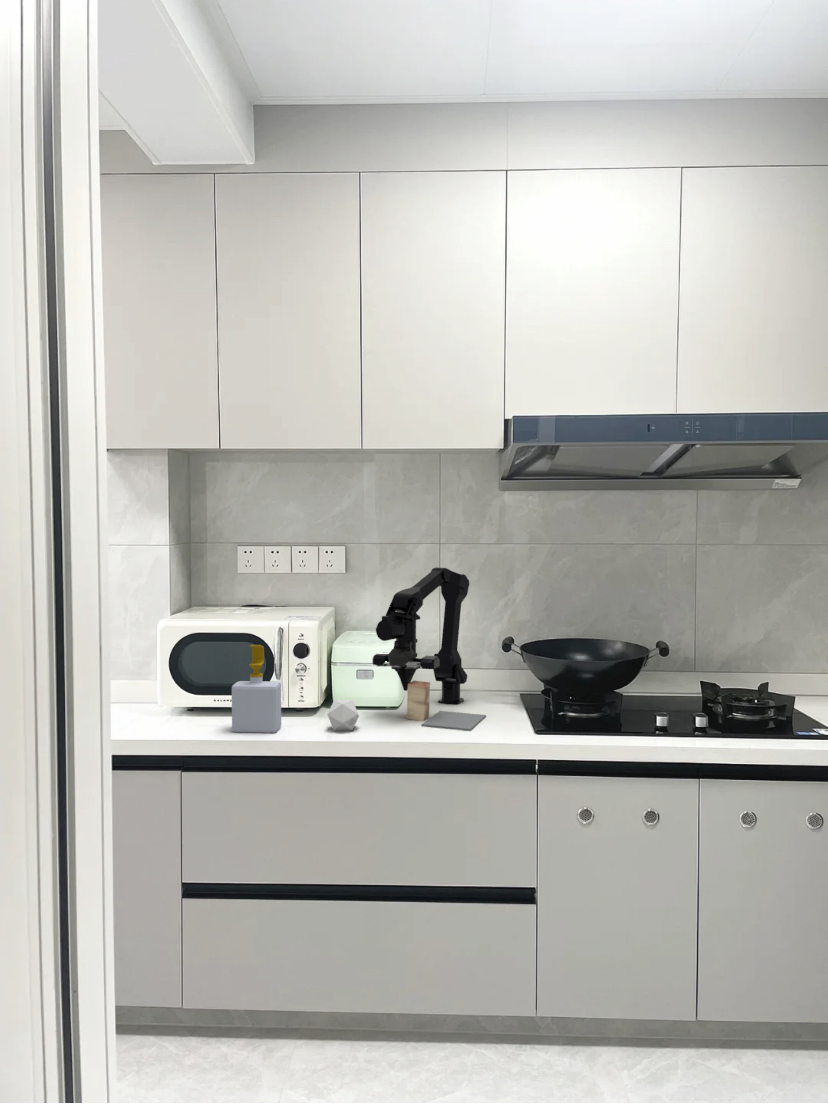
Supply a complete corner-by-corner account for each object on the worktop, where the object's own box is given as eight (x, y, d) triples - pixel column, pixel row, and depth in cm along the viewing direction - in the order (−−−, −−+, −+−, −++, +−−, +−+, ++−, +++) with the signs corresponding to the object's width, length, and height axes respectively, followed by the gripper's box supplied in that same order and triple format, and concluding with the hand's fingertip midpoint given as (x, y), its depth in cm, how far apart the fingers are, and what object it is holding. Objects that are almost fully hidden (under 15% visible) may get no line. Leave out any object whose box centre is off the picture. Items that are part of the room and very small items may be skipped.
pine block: (412, 714, 239) (413, 680, 239) (428, 716, 238) (430, 682, 237) (406, 718, 235) (407, 684, 234) (423, 720, 233) (424, 686, 232)
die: (346, 737, 218) (365, 706, 221) (318, 720, 220) (338, 689, 222) (348, 740, 226) (366, 710, 229) (321, 723, 227) (340, 693, 230)
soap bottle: (231, 732, 221) (230, 645, 219) (238, 726, 227) (237, 641, 226) (276, 733, 220) (275, 646, 219) (281, 726, 227) (281, 642, 225)
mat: (439, 712, 242) (439, 710, 242) (486, 716, 238) (486, 714, 237) (421, 726, 227) (421, 724, 227) (470, 730, 223) (470, 729, 222)
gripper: (364, 638, 232) (364, 693, 233) (427, 642, 225) (427, 699, 226) (380, 633, 242) (379, 685, 243) (440, 636, 236) (440, 690, 237)
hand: (405, 690), depth 237 cm, fingers closed
